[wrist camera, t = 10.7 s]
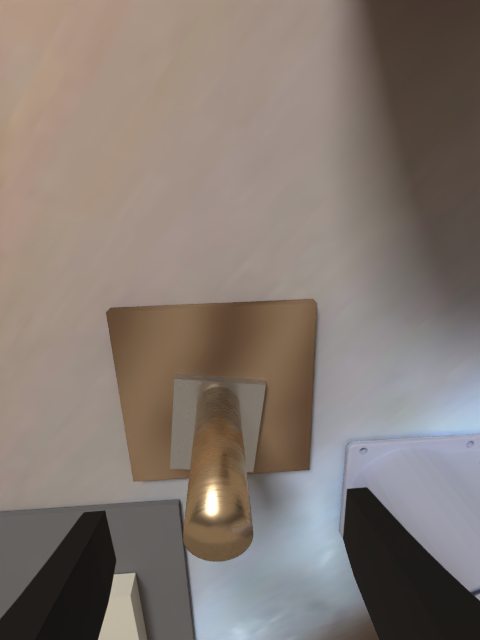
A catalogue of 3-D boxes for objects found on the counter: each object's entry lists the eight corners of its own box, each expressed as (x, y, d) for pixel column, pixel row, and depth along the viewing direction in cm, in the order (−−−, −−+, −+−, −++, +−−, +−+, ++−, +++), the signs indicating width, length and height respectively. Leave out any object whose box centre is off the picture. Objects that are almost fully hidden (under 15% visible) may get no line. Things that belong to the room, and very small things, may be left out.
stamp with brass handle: (175, 373, 19) (144, 499, 11) (264, 379, 20) (296, 504, 12) (171, 461, 21) (142, 623, 13) (252, 465, 22) (272, 623, 14)
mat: (179, 499, 23) (178, 504, 23) (197, 666, 29) (197, 672, 29) (-39, 514, 23) (-43, 519, 22) (25, 681, 29) (23, 688, 28)
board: (312, 298, 19) (316, 303, 18) (306, 460, 23) (309, 469, 22) (110, 307, 19) (106, 312, 18) (136, 471, 22) (133, 481, 22)
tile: (130, 595, 23) (144, 669, 26) (135, 571, 25) (148, 643, 27) (22, 604, 23) (47, 678, 25) (34, 579, 24) (57, 651, 27)
